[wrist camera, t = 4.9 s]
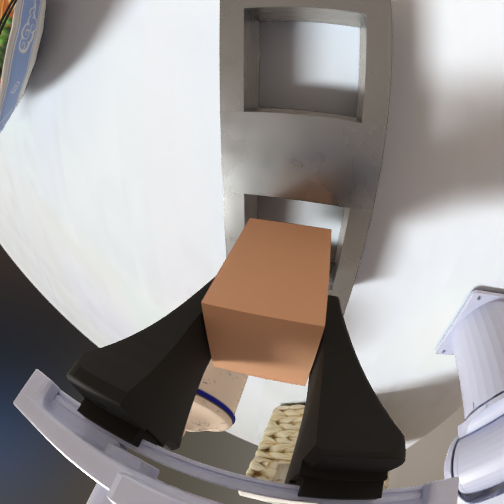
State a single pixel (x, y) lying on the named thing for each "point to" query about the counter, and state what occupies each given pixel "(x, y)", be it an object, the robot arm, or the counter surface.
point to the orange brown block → (270, 301)
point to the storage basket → (278, 450)
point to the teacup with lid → (216, 400)
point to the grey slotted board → (304, 127)
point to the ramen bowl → (18, 49)
